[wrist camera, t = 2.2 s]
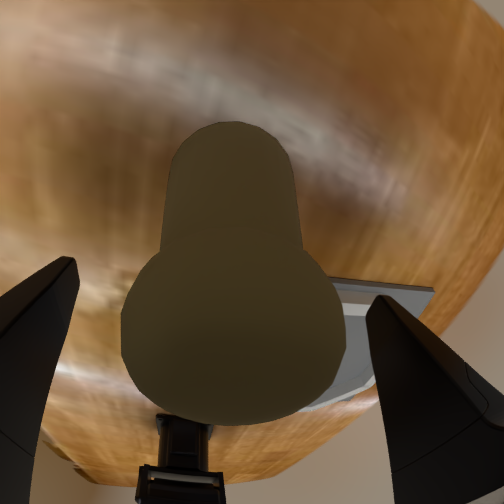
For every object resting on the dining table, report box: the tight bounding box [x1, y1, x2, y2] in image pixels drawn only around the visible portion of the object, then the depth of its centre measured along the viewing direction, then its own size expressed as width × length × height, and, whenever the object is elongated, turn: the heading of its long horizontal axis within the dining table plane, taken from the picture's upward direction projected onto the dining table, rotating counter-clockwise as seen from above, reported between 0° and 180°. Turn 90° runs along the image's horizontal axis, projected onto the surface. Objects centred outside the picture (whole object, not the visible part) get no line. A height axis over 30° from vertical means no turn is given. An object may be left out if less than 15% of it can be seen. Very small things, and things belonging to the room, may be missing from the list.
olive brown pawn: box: [121, 122, 346, 426], centre depth 10 cm, size 6×6×11 cm
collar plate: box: [297, 277, 435, 412], centre depth 22 cm, size 16×16×2 cm
